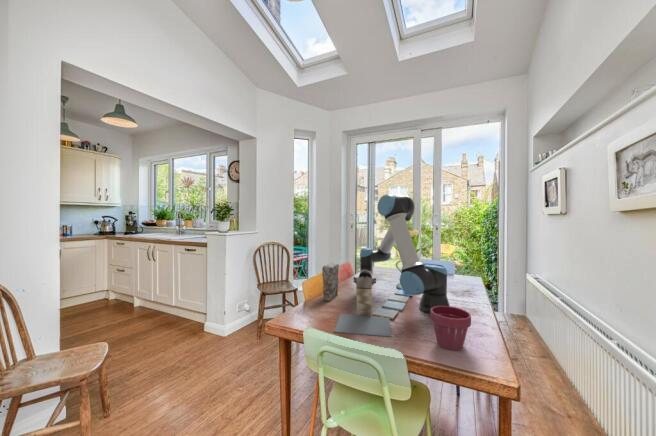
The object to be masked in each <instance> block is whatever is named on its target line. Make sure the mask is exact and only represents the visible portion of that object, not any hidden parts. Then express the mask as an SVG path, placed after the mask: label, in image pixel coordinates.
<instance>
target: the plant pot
mask: <svg viewBox="0 0 656 436" xmlns="http://www.w3.org/2000/svg"><path fill="white" fill-rule="evenodd" d="M430 320H431V322H433V323H432V324H433V328H434V329H433V330H434V332H435V333H434V334H435V337H436V342H437V344H438V345H439V346H440V347H442V348H444V349H446V350H451V351H459V349H460V350H462V349H463V347H464V346H465V345H464V344H465V341H466V337H467V333H468V329H469V328H470V327H471V326H472V315H471V313H470V312H469V311H466V310H465V309H463V308H460V307H456V306H435V307H433V308H431V313H430Z"/></svg>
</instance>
